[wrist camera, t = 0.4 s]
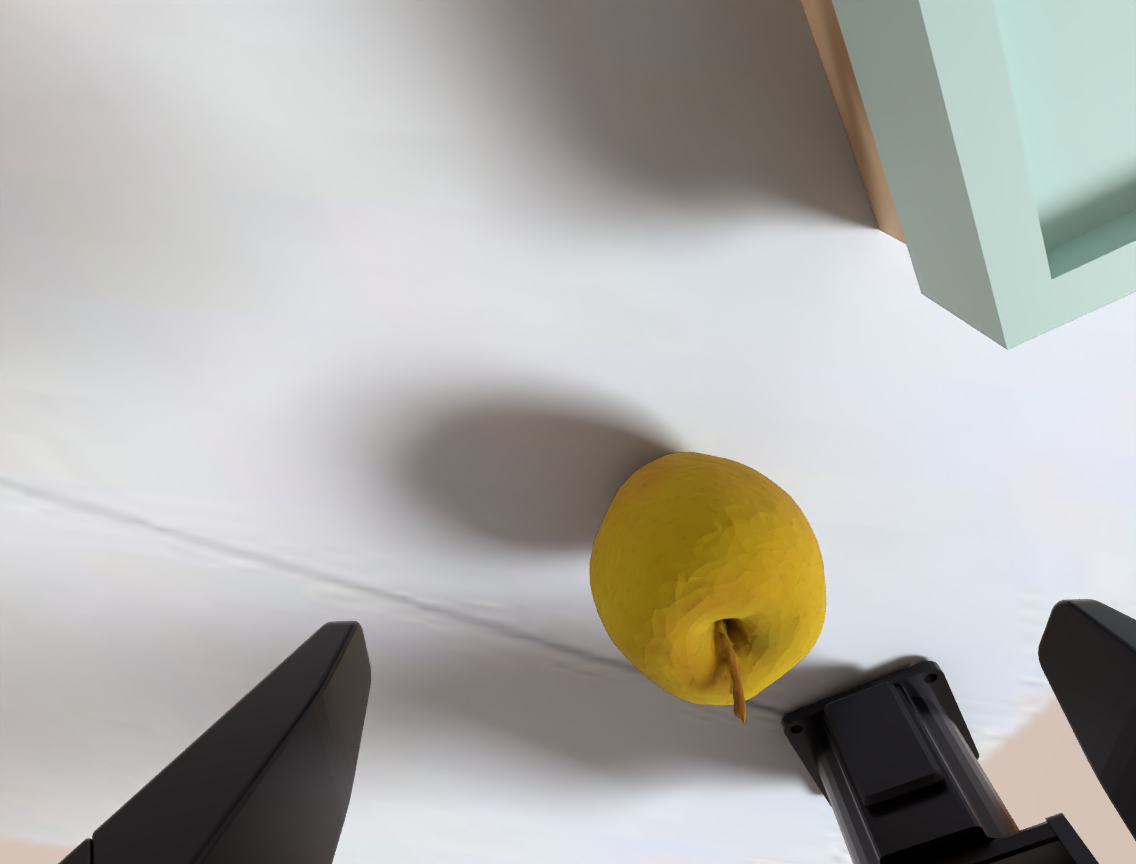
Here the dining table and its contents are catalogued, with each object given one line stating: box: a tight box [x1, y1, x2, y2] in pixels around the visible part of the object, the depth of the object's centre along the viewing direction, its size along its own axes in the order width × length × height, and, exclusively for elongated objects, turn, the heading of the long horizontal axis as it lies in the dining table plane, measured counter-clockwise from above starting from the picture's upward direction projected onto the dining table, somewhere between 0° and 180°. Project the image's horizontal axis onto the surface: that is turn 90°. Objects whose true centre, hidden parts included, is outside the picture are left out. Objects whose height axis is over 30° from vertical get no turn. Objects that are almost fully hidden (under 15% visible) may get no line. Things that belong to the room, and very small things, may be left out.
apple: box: [590, 452, 826, 723], centre depth 20 cm, size 6×6×8 cm
